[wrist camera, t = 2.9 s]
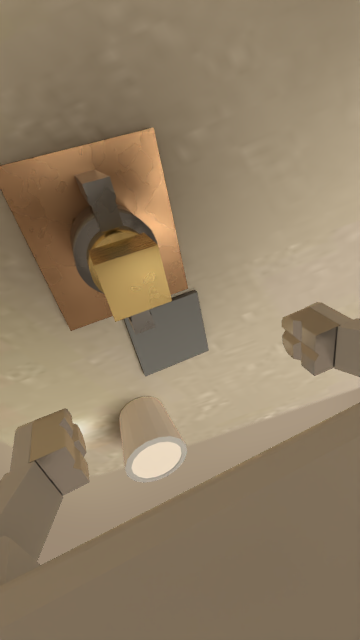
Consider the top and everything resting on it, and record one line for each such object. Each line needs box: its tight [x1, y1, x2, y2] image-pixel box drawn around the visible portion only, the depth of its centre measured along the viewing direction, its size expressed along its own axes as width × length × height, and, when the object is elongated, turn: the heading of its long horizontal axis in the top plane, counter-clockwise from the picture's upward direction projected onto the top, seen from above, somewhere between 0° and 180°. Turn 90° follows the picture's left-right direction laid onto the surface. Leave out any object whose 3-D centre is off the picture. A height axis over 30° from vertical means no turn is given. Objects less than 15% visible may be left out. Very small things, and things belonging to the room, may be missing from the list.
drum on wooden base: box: [0, 128, 188, 335], centre depth 23 cm, size 14×12×8 cm
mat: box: [124, 290, 209, 376], centre depth 33 cm, size 8×8×1 cm
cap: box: [86, 226, 172, 322], centre depth 19 cm, size 8×4×6 cm, turn 13°
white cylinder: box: [119, 397, 187, 482], centre depth 35 cm, size 7×7×7 cm
